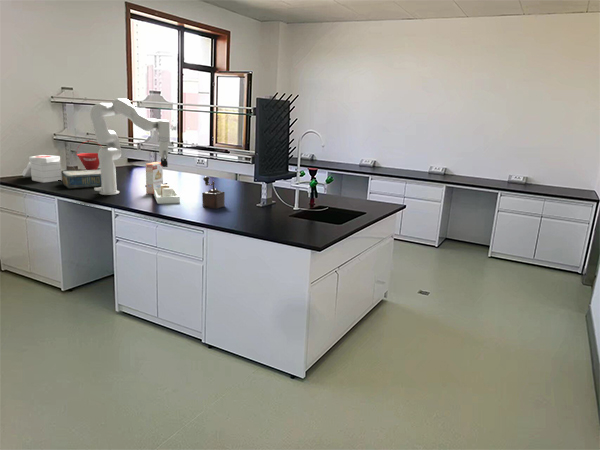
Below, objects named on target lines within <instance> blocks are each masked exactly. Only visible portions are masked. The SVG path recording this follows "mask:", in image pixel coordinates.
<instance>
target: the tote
mask: <svg viewBox="0 0 600 450" xmlns="http://www.w3.org/2000/svg"><path fill="white" fill-rule="evenodd" d="M171 188H172V189H173V197H161V188H156V189H154V194H153V196H154V199H155V201H156V203H157V205H158V204H159V205H160V204H180V203H181V202H180V201H181V200H180V199H181V197H180V195H179V193H178V192H177V190H176V189H175V188H174V187H171Z"/></svg>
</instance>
